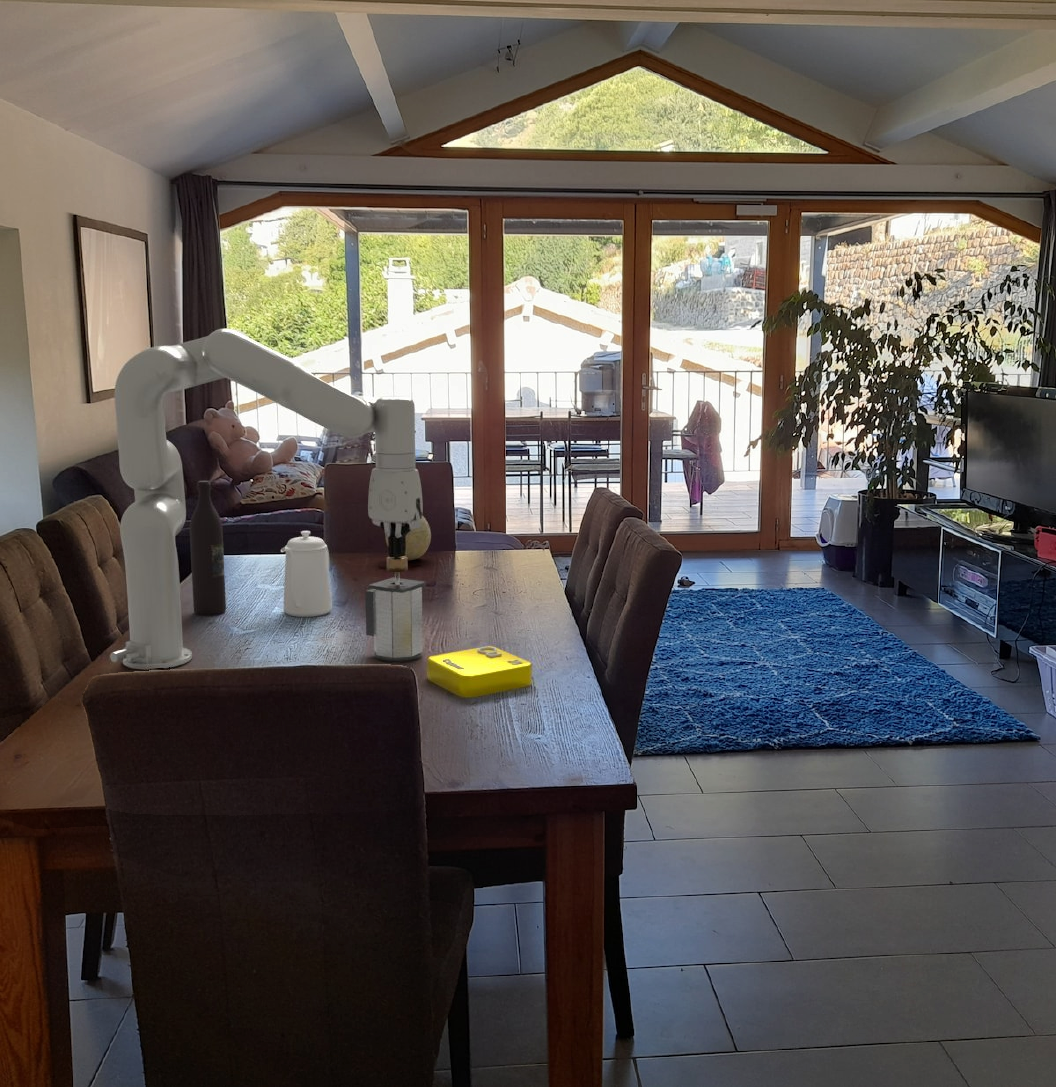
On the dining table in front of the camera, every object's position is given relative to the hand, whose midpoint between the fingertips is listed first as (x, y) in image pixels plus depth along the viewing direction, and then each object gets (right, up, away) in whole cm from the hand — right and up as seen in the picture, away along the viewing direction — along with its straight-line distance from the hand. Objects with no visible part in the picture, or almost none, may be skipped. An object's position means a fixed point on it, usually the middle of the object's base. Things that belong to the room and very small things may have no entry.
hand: (397, 556), depth 209 cm
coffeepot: (-25, -13, +37) cm, 47 cm away
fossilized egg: (-9, -2, +98) cm, 98 cm away
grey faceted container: (-1, -20, +4) cm, 20 cm away
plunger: (0, -15, +3) cm, 15 cm away
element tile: (+16, -23, -11) cm, 31 cm away
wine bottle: (-47, -13, +36) cm, 61 cm away
